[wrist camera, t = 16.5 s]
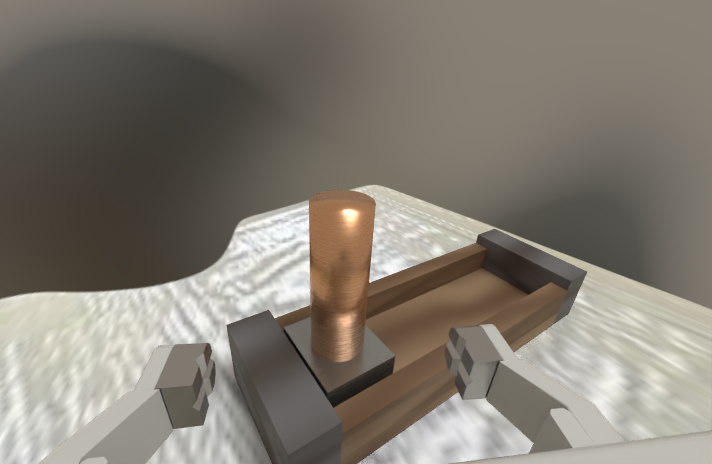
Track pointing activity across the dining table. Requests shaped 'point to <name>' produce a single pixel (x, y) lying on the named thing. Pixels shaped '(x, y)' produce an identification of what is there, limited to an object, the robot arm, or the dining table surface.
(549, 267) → the track
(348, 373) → the slider
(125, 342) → the dining table surface
